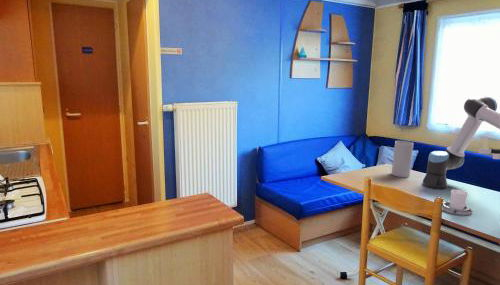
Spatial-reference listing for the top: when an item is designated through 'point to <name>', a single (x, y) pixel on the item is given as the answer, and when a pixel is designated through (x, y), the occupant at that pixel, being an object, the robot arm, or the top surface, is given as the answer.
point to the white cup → (458, 199)
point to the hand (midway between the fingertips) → (485, 153)
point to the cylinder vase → (402, 158)
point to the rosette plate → (456, 210)
